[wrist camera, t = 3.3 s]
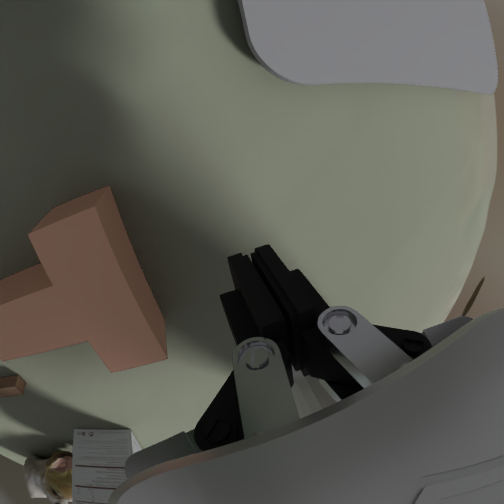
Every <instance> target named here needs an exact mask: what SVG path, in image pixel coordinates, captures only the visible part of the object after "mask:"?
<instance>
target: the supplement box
mask: <svg viewBox="0 0 504 504" xmlns="http://www.w3.org/2000/svg"><path fill="white" fill-rule="evenodd" d="M140 450H142V449H141V447H140V445H139V444H138V442H137V440H136V439H135V437H134V435H133V433H132V431H131V430H129V429H117V430H107V429H74V437H73V457H72V503H73V504H108V501H109V498H110V496H111V494H112V492H113V491H114V490H115V489H116V488H117V487H118V486H119V485H120V484H122V483H123V482H124V481H125V480H127V477H126V474H125V469H124V467H125V463H126V460H127V459H128V458H129V456H131V455H132V454H134V453H135V452H138V451H140Z"/></svg>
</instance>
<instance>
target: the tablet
mask: <svg viewBox="0 0 504 504" xmlns="http://www.w3.org/2000/svg"><path fill="white" fill-rule="evenodd" d="M238 3H239V8H240V12H241V17H242V22H243V27H244V31H245V36H246V40H247V43H248V46H249V48H250V50H251V52H252V54H253V55H254V57H255V58H256V59H257V61H258V62H259V63H260V64H261V65H262V66H263V67H264V68H265V69H266V70H267V71H269V72H270V73H271V74H273V75H275V76H276V77H278V78H280V79H282V80H284V81H287V82H290V83H293V84H299V85H320V84H340V83H390V84H410V85H423V86H433V87H442V88H450V89H457V90H464V91H470V92H476V93H481V94H487V95H490V94H492V93H494V91H495V89H496V87H497V82H498V67H497V59H496V53H495V47H494V41H493V36H492V31H491V26H490V22H489V18H488V14H487V10H486V6H485V3H484V0H238Z"/></svg>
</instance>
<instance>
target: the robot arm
mask: <svg viewBox="0 0 504 504" xmlns="http://www.w3.org/2000/svg"><path fill="white" fill-rule="evenodd" d="M227 259H228V263H229V267H230V271H231V274H232V278H233V282H234V286H235V290H233V291H230V292H227V293H224V294H221V295H220V299H221V302H222V305H223V308H224V311H225V314H226V317H227V320H228V323H229V326H230V328H231V331H232V334H233V337H234V339H235V342H236V345H237V347H236V348H235V350H234V352H233V354H232V363H233V369H234V370H233V371H232V373H231V374H230V376H229V377H228V379H227V380H226V382H225V383H224V385H223V386H222V388H221V389H220V391H219V392H218V394H217V395H216V397H215V398H214V400H213V401H212V403H211V404H210V406H209V407H208V408H207V410H206V411H205V413H204V414H203V416H202V417H201V419H200V420H199V421H198V423H197V425H196V427H195V429H193V430H191V431H189V432H187V433H185V432H184V431H183V432H181V433H179V434H177V435H174V436H172V437H170V438H168V439H166V440H163V441H161V442H159V443H157V444H154V445H152V446H150V447H147V448H145V449H143V450H140V451H138V452H135V453H134V454H132V455H131V456H129V458H128V459H127V460H126V463H125V467H124V469H125V474H126V477H127V480H125V481H124V482H123V483H122V484H120V485H119V486H118V487H117V488H116V489H115V490H114V491H113V492H112V494H111V496H110V498H109V501H108V504H504V308H501V309H497V310H493V311H490V312H487V313H485V314H482V315H480V316H478V317H476V318H475V319H472V318H470V317H466V316H461V317H458V318H455V319H452V320H450V321H447V322H444V323H442V324H439V325H436V326H433V327H430V328H427V329H424V330H423V332H422V333H418V332H415V331H409V330H402V329H396V328H390V327H384V326H378V325H372V324H371V323H370V322H369V321H367V320H366V319H365V318H364V317H363V316H362V315H360V314H359V313H358V312H357V311H355V310H354V309H352V308H349V307H346V306H335V307H331V308H330V307H329V306H328V305H327V303H326V302H325V301H324V300H323V298H322V297H321V296H320V295H319V293H318V292H317V291H316V290H315V288H314V287H313V286H312V285H311V283H310V282H309V281H308V280H307V279H306V277H305V276H304V275H303V274H302V272H301V271H300V270H299V269H295V270H292V271H289V270H288V269H287V267H286V266H285V265H284V263H283V262H282V261H281V260H280V258H279V257H278V256H277V254H276V253H275V252H274V250H273V249H272V248H271V246H270V245H269V244H267V245H264V246H261V247H258V248H255V252H254V253H251V259H252V262H251V260H250V258H249V257H248V255H245V256H243V255H242V254H241V253H239V254H236V255H233V256H229V257H227Z"/></svg>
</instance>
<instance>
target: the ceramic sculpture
mask: <svg viewBox="0 0 504 504" xmlns="http://www.w3.org/2000/svg"><path fill="white" fill-rule="evenodd" d="M72 457H73V453H71V452H67V451H58V452H56V453H54V454H53V455H52V456H51V458H49V459H45V460H43V459H41V458H38V457H36V456H30V457H28V458H27V459H26V461H25V464H24V469H23V471H24V476H25V481H26V485H27V489H28V492H29V496H30V497H31V498H36V497H44V498H45V497H47V498H48V500H49V501H51V502H52V503H53V504H68V503H72Z"/></svg>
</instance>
